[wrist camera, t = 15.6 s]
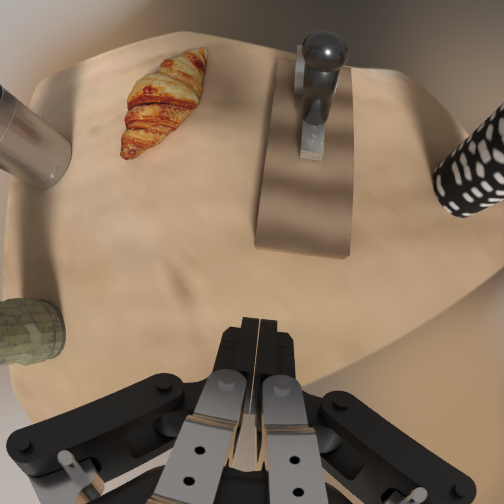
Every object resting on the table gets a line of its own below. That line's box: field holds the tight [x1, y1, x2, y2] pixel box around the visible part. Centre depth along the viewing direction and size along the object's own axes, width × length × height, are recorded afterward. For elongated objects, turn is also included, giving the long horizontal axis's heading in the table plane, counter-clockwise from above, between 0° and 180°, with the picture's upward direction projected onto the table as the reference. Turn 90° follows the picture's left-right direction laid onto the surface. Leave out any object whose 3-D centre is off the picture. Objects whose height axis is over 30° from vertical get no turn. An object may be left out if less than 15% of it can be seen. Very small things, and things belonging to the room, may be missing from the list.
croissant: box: [120, 47, 208, 160], centre depth 36 cm, size 21×10×8 cm, turn 156°
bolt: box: [300, 30, 348, 161], centre depth 26 cm, size 12×4×14 cm, turn 173°
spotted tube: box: [433, 103, 504, 218], centre depth 24 cm, size 8×8×20 cm
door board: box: [254, 45, 354, 259], centre depth 32 cm, size 26×10×8 cm, turn 173°
